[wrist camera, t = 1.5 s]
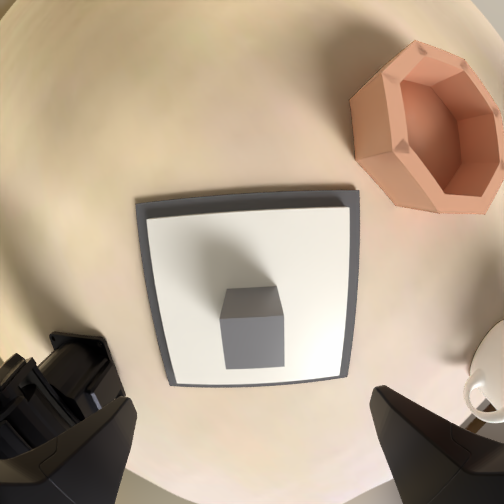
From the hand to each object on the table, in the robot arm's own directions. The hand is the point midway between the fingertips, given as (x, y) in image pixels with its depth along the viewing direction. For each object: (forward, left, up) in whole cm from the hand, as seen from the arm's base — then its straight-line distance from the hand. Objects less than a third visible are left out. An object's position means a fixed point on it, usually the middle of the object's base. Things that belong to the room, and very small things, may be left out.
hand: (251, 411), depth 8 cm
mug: (+25, -10, -10) cm, 29 cm away
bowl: (+12, +11, -10) cm, 19 cm away
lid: (0, 0, -9) cm, 9 cm away
